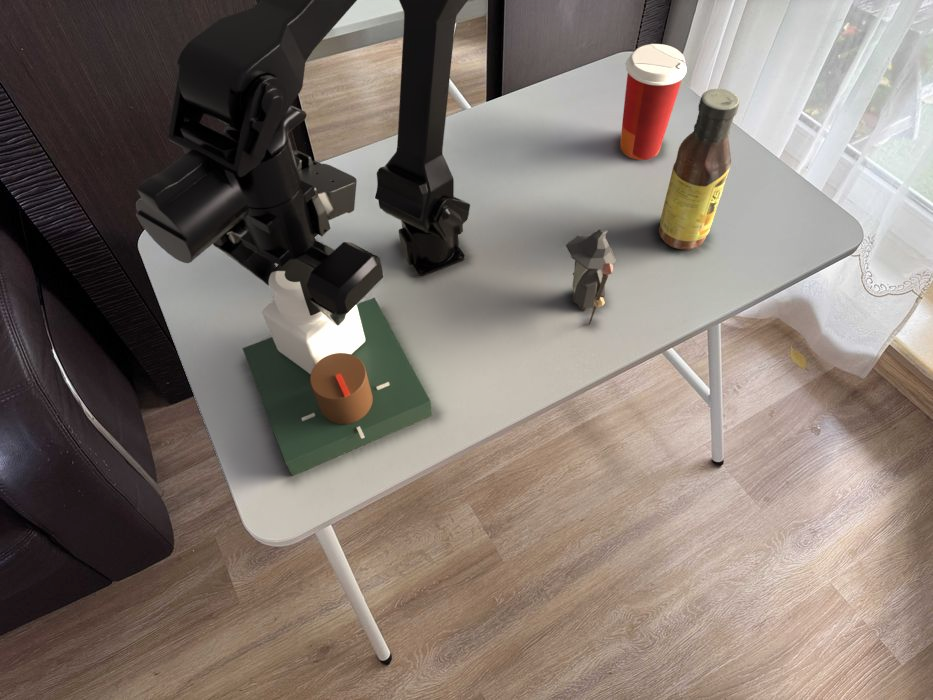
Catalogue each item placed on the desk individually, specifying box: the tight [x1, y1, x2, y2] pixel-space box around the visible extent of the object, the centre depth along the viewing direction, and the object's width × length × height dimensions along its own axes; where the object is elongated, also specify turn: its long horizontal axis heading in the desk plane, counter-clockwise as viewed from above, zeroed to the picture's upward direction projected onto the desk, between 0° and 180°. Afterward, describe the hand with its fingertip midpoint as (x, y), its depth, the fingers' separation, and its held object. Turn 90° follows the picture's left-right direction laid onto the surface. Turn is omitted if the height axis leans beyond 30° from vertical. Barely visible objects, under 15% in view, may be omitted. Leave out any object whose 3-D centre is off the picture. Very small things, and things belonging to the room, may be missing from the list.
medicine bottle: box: [261, 259, 365, 374], centre depth 75 cm, size 7×7×12 cm
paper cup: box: [620, 43, 688, 161], centre depth 97 cm, size 8×8×14 cm
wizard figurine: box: [565, 229, 617, 325], centre depth 81 cm, size 8×6×12 cm
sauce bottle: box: [658, 88, 740, 250], centre depth 84 cm, size 7×6×20 cm
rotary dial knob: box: [310, 353, 373, 424], centre depth 73 cm, size 6×6×5 cm
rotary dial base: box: [242, 297, 433, 477], centre depth 78 cm, size 16×17×3 cm
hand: (306, 302), depth 73 cm, fingers open, 9 cm apart
